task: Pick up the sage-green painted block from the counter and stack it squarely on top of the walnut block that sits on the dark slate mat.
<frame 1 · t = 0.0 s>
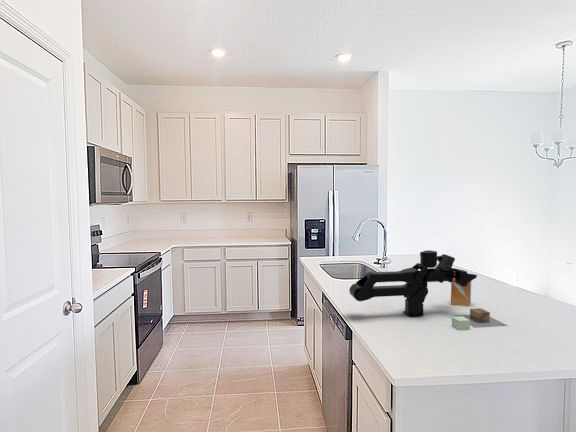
hand: (469, 273, 159), 17 cm above the worktop, tool horizontal, fingers open, 9 cm apart
walnut block: (479, 320, 148), resting on slate mat
sage block: (460, 328, 140), on the worktop
small box: (460, 304, 170), on the worktop
slate mat: (479, 321, 148), on the worktop
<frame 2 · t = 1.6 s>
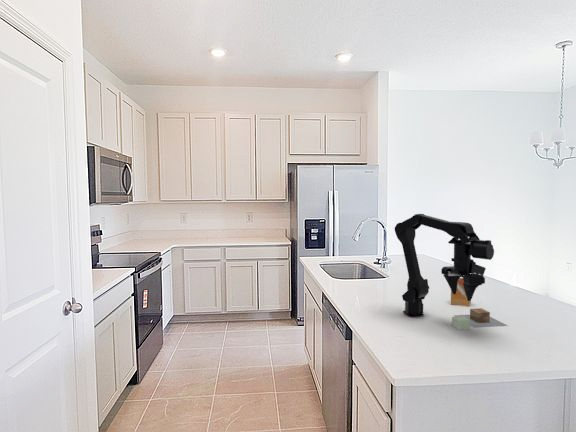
hand: (461, 297, 140), 12 cm above the worktop, tool pointing down, fingers open, 9 cm apart
nothing on the worktop moved.
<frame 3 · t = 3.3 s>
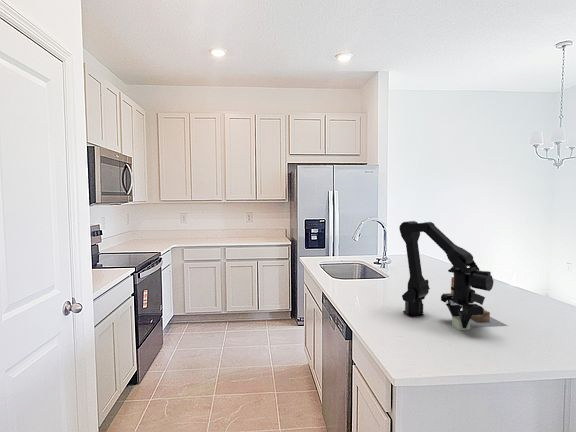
hand: (460, 325, 140), 1 cm above the worktop, tool pointing down, fingers closed on sage block, 4 cm apart
sage block: (460, 328, 140), on the worktop, touching gripper
everything else where it was.
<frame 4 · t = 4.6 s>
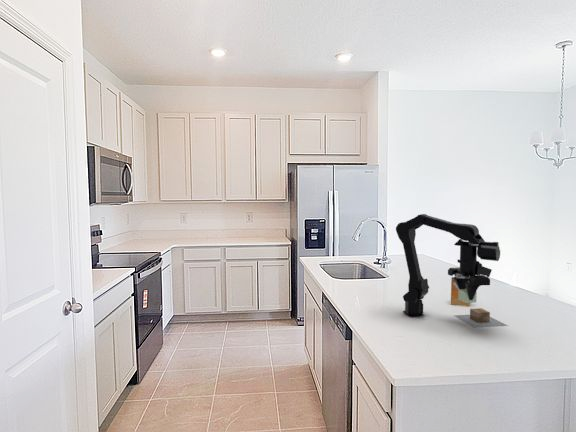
hand: (467, 298, 141), 11 cm above the worktop, tool pointing down, fingers closed on sage block, 4 cm apart
sage block: (467, 300, 142), point 10 cm above the worktop, touching gripper
everything else where it was.
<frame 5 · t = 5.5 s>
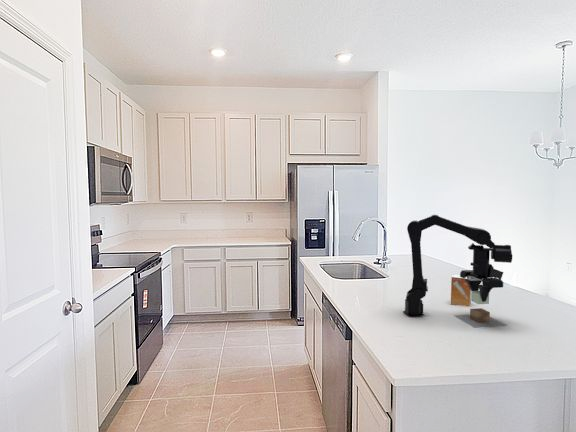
hand: (479, 299, 147), 9 cm above the worktop, tool pointing down, fingers closed on sage block, 4 cm apart
sage block: (479, 302, 147), point 8 cm above the worktop, touching gripper
everything else where it was.
when the fingers open (7 cm above the worktop, at t = 6.2 s): sage block drops 1 cm, resting on walnut block.
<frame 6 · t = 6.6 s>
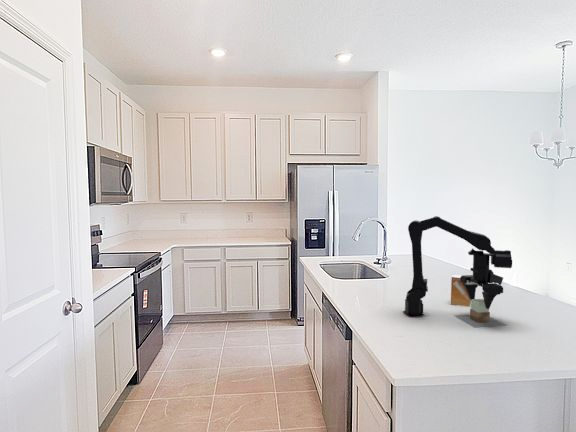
hand: (479, 305, 147), 7 cm above the worktop, tool pointing down, fingers open, 9 cm apart
walnut block: (479, 320, 148), resting on slate mat, touching sage block
sage block: (479, 310, 147), point 4 cm above the worktop, touching walnut block
everything else where it was.
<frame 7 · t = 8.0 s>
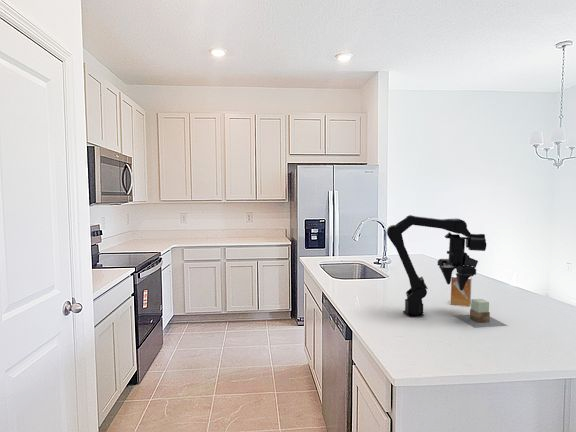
hand: (454, 287, 152), 13 cm above the worktop, tool pointing down, fingers open, 9 cm apart
nothing on the worktop moved.
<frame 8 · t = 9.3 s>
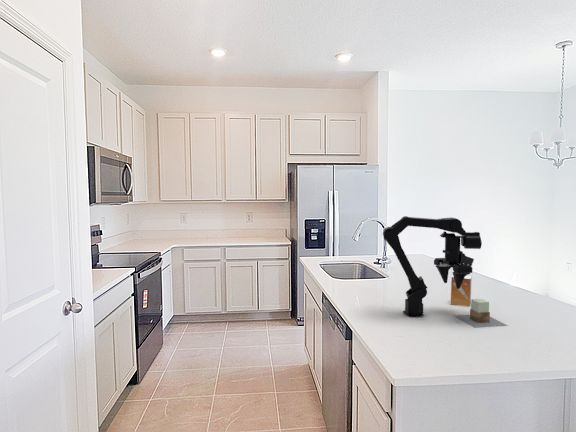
hand: (451, 285, 153), 13 cm above the worktop, tool pointing down, fingers open, 9 cm apart
nothing on the worktop moved.
at the end: sage block 0.0 cm off-centre on the walnut block, point 4.0 cm above the walnut block's base; sage block tilted 0°; the gripper is holding nothing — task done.
